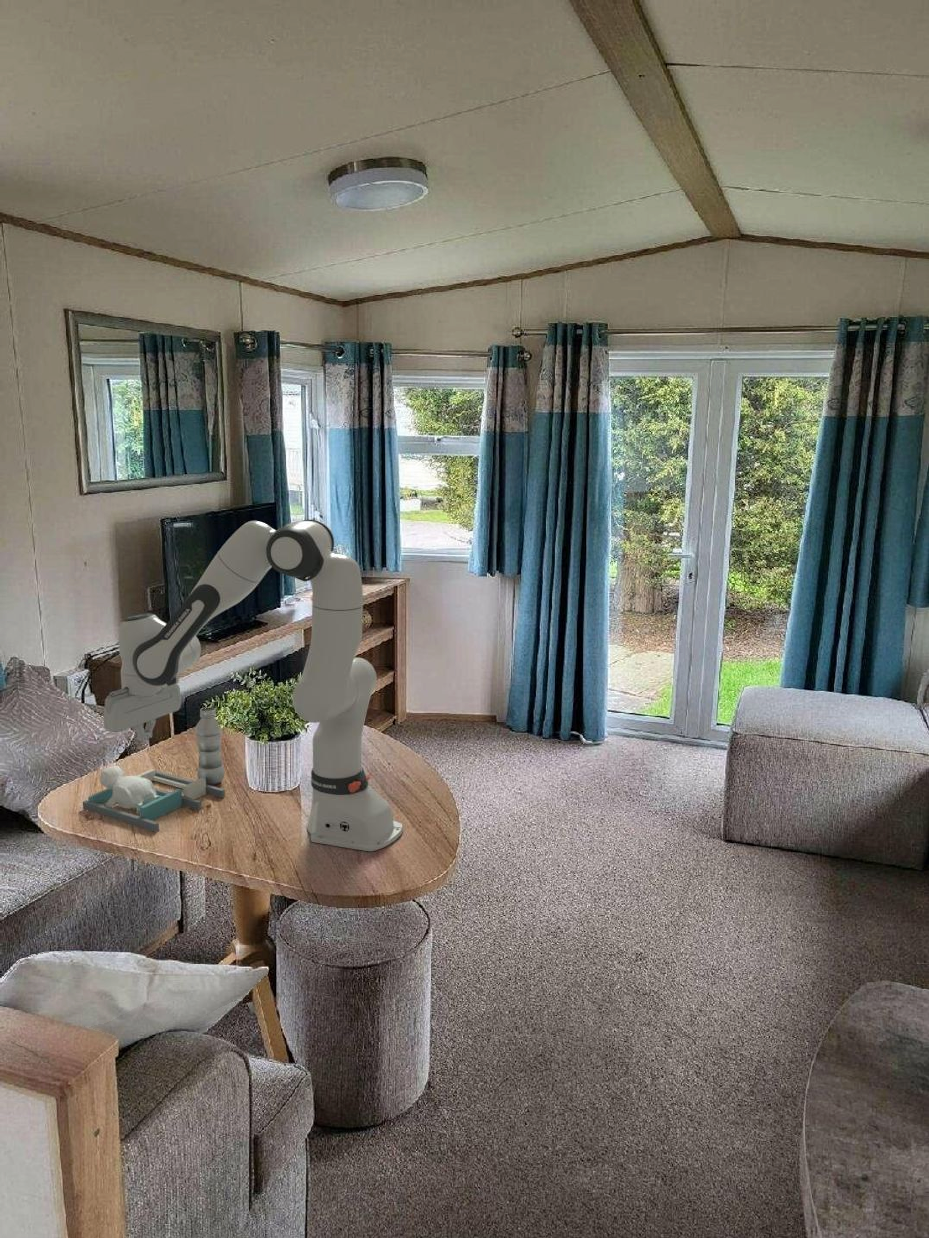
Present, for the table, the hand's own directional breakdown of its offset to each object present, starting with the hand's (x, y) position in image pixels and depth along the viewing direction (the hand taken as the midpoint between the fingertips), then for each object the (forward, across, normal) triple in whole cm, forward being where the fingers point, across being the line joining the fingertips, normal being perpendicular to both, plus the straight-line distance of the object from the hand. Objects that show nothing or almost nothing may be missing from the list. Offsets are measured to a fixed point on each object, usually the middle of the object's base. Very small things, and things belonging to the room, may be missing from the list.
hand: (145, 738), depth 204 cm
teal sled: (+18, 0, +5) cm, 19 cm away
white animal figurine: (+19, 0, +8) cm, 20 cm away
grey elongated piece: (+18, +11, +5) cm, 22 cm away
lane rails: (+18, +4, +2) cm, 19 cm away
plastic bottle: (+18, +20, -1) cm, 27 cm away
